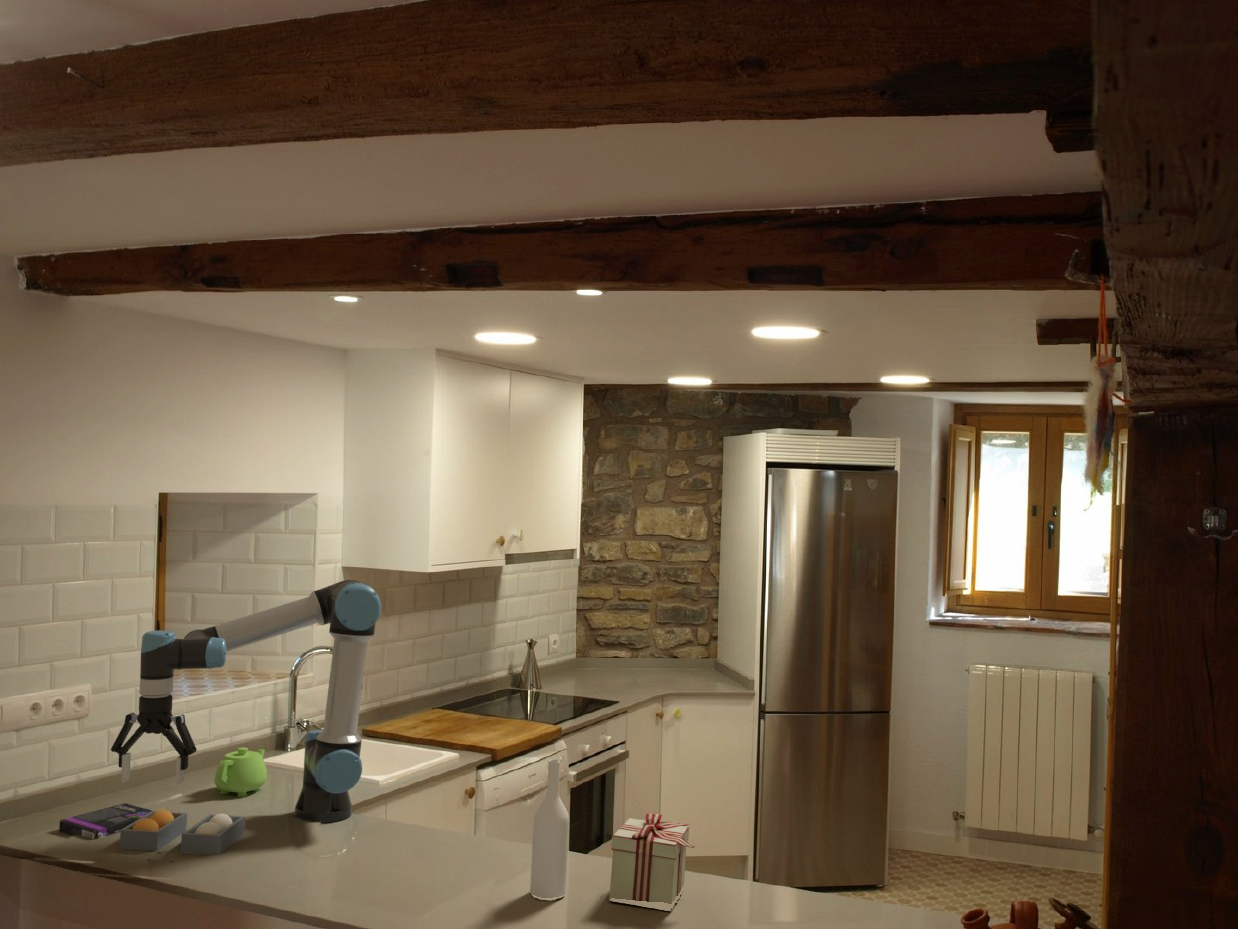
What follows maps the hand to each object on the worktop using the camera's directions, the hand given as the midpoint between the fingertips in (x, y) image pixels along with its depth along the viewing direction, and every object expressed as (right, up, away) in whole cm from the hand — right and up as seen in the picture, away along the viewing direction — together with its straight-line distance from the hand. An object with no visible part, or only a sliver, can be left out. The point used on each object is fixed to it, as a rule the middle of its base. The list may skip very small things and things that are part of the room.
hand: (152, 782), depth 256 cm
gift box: (+122, -21, -18) cm, 125 cm away
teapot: (+4, -18, +49) cm, 52 cm away
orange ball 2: (-1, -15, +6) cm, 16 cm away
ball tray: (+6, -16, -1) cm, 17 cm away
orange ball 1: (-1, -15, -1) cm, 15 cm away
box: (-16, -16, +12) cm, 26 cm away
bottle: (+98, -20, -20) cm, 102 cm away
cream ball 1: (+14, -16, -1) cm, 21 cm away
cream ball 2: (+14, -16, +6) cm, 22 cm away
